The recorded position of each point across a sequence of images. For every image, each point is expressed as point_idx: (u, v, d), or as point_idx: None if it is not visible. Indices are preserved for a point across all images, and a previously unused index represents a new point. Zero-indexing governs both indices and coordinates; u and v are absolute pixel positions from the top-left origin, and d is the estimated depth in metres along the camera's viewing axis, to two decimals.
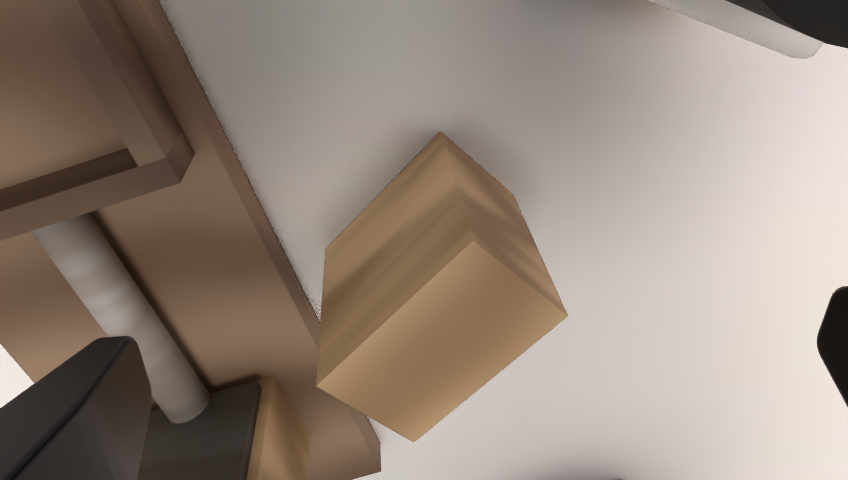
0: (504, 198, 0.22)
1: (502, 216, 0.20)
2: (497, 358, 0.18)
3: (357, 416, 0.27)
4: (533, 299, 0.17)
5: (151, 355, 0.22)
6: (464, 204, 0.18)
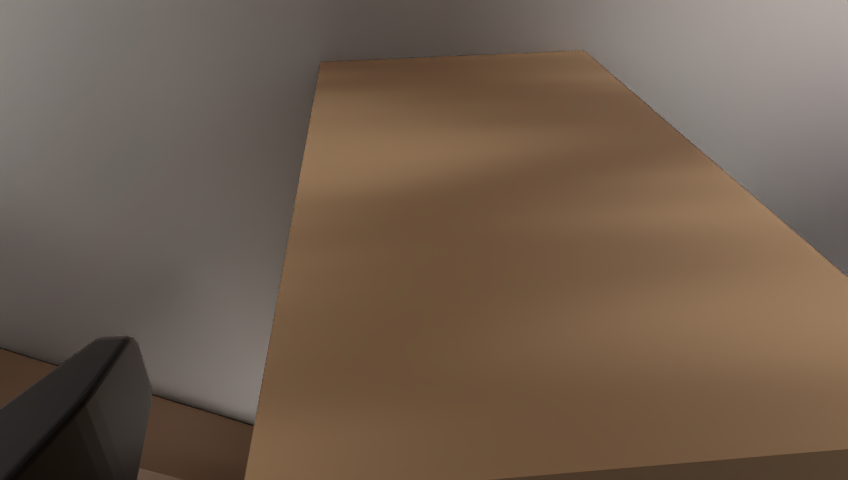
0: (547, 82, 0.08)
1: (530, 150, 0.06)
2: None
3: None
4: None
5: None
6: (304, 254, 0.05)
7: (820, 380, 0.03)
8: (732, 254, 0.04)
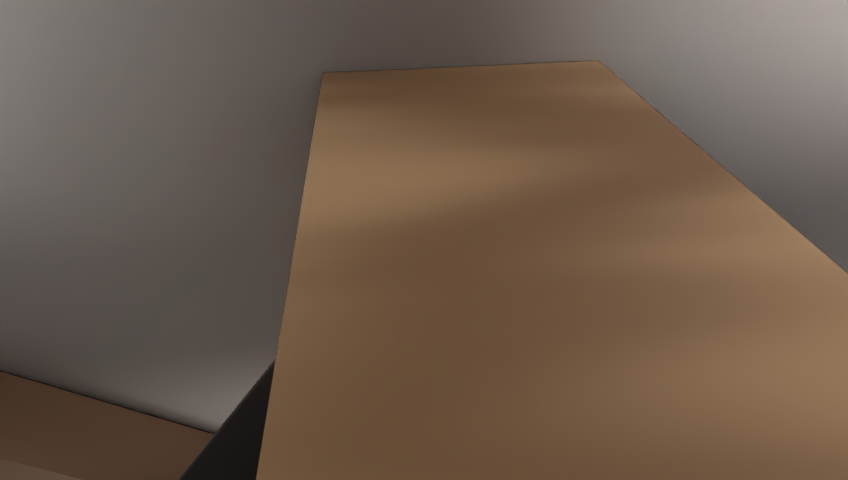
0: (562, 96, 0.07)
1: (549, 176, 0.06)
2: None
3: None
4: None
5: None
6: (304, 297, 0.04)
7: None
8: (779, 298, 0.04)
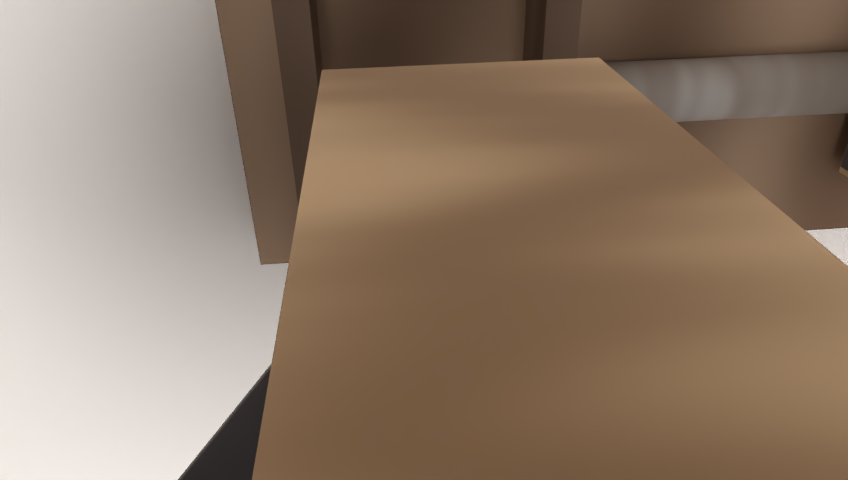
0: (563, 93, 0.07)
1: (549, 172, 0.06)
2: None
3: None
4: None
5: (784, 79, 0.16)
6: (303, 292, 0.04)
7: None
8: (783, 295, 0.04)
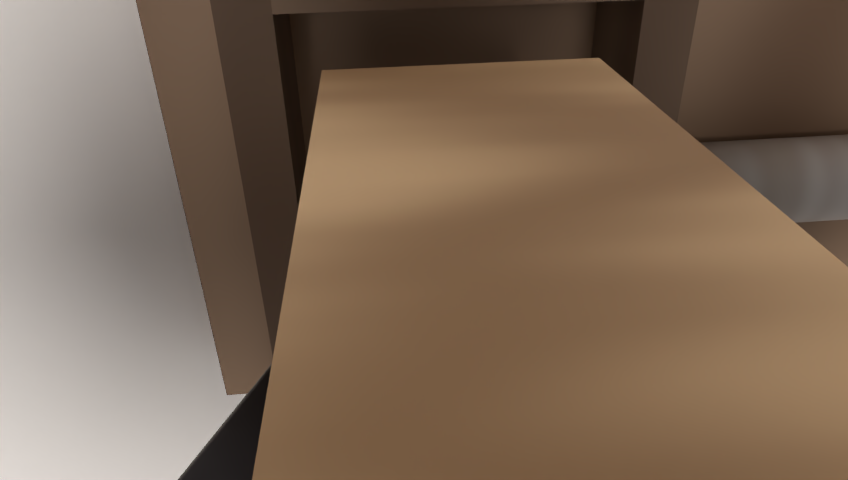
0: (563, 94, 0.07)
1: (549, 173, 0.06)
2: None
3: None
4: None
5: None
6: (303, 293, 0.04)
7: None
8: (783, 296, 0.04)
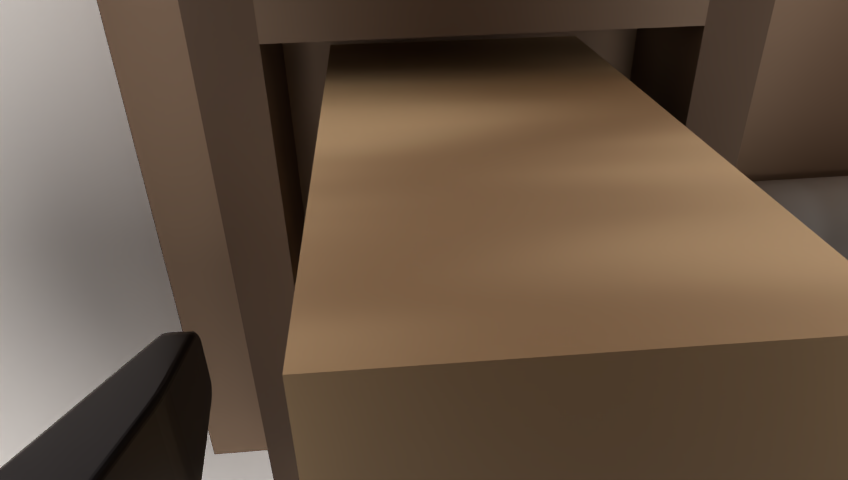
0: (541, 63, 0.08)
1: (524, 120, 0.07)
2: None
3: None
4: (728, 376, 0.04)
5: None
6: (323, 199, 0.05)
7: (764, 293, 0.04)
8: (698, 201, 0.05)
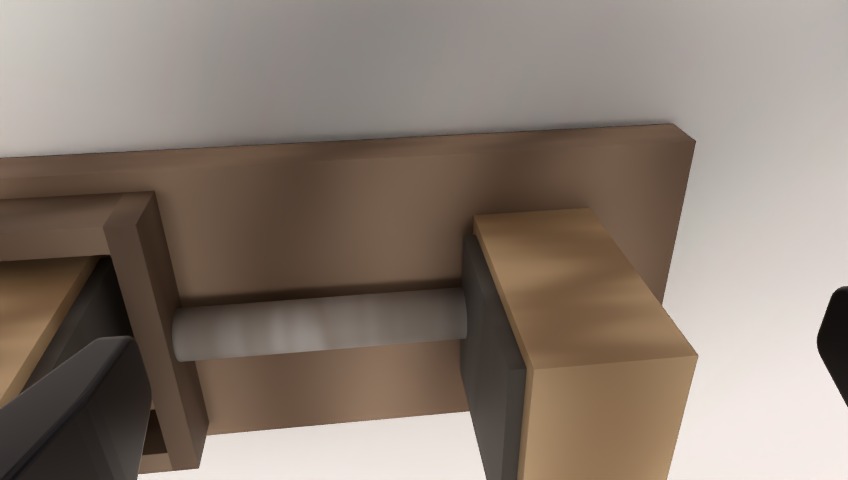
0: (52, 264, 0.17)
1: None
2: None
3: (594, 140, 0.20)
4: None
5: (364, 324, 0.19)
6: None
7: None
8: None
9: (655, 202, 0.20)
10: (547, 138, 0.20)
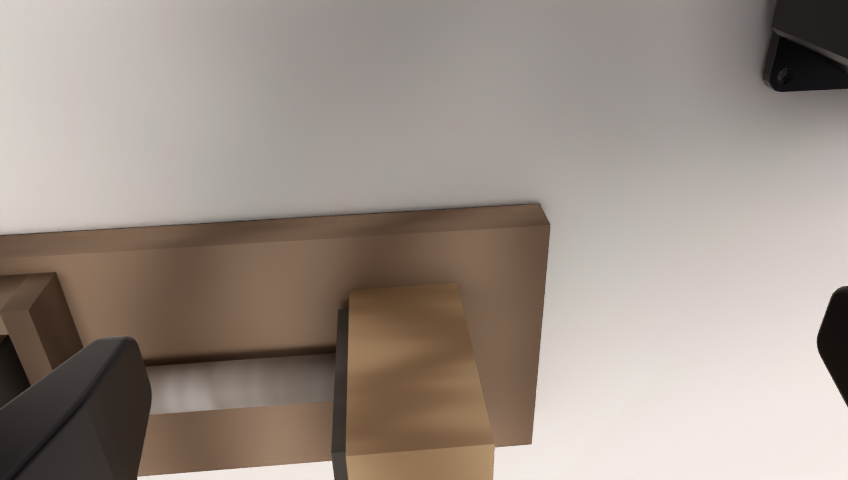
0: None
1: None
2: None
3: (458, 223, 0.21)
4: None
5: (249, 388, 0.22)
6: None
7: None
8: None
9: (519, 277, 0.22)
10: (416, 220, 0.22)
